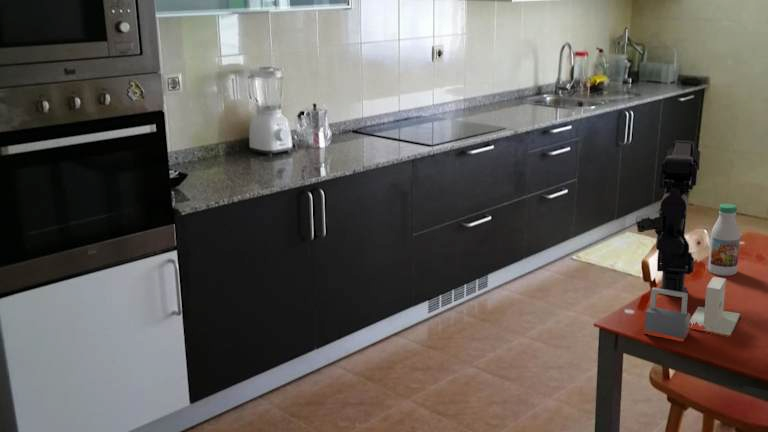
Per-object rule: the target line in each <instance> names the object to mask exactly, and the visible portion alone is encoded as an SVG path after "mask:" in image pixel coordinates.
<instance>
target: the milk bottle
mask: <svg viewBox="0 0 768 432" xmlns="http://www.w3.org/2000/svg"><path fill="white" fill-rule="evenodd" d="M737 207H738V206H736V205H734V204H731V203H721V204H720V205H719V207H718V213H719V215H718V218H717V220H716V222H715V224H714V225H713V227H712V229H711V235H710V241H709V254H708V265H707V267H708V272H709V273H711V274H714V275H718V276H722V277H723V276H724V277H725V276H726V277H727V276H734V275H736V274H737V272H738V263H739V253H740V242H741V241H740V240H741V235H740V233H741V232H740V227H739V226H738V223H737V220H736V215H737V211H738V208H737Z"/></svg>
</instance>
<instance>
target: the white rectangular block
mask: <svg viewBox="0 0 768 432" xmlns="http://www.w3.org/2000/svg"><path fill="white" fill-rule="evenodd" d="M726 285H727V278H723V277H717V276H712V278H711V279H710V281H709V283H708V284H707V286H706V289H705V303H704V308H705V312H704V324H703V325H705V326H710V327H717V326H718V324H719V322H720V320H721V318H722V316H723V311H724V307H725V306H724V305H725V304H724V303H725V294H726Z"/></svg>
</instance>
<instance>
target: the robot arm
mask: <svg viewBox="0 0 768 432" xmlns="http://www.w3.org/2000/svg"><path fill="white" fill-rule="evenodd" d="M694 144H695V142H693V141H691V140H676V141H673V145H672V146H671V147H670V148H669V149H668V150H667V156H666V157H665V160H664V161H662V162H661V169H660V170H661V171H660V179H659V187H658V188H660V189H665V190H664V194H663V197H662V200H661V203H660V207H659V210H658V212H650V213H645V214H639V215H636V216H635V223H636V228H637V232H638V233H644V232H645V231H646V232H647V231H653V230H654V233H655V234H656V239H655V249H656V250H657V251H658V252H657V260H656V261H657V267H656V271H657V272H661V273H662V275H661V276H662V277H661V286H660V287H659V288H660V289H666V290H672V291H678V292H685V293H687V290H688V288H687V287H685V278H686V276H685V275H690V274H693V273H694V263H695V262H694V261H695V258H694V257H693V255H692V252H690V245H689V242H688V240H687V239H686V237H685V233H686V223H687V214H688V212H687V211H688V202H689V199H690V198H689V197H690V192H691V191H690V190H692V191H693V189H694V186H697V178H698V177H697V176H698V171H700V166H701V150H699V149H697V147H695V145H694Z"/></svg>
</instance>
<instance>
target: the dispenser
mask: <svg viewBox="0 0 768 432" xmlns="http://www.w3.org/2000/svg"><path fill="white" fill-rule="evenodd" d="M650 291H651V292H650V302H649V303H650V304H649V305H650V306H649V307H648V308H647V309H646V311H645V320H644V321H645V322H644V331H645V330H646V331H651V332H655V333H660V334H665V335H669V336H673V337H677V338H681V339H684V337H685V335H686V334H687V332H688V331H689V332H690V329H689V323H690V320H691V313H690V312H687V310H688V297H689V296H688V295H689V294H688V292H678V291H672V290H666V289H660V287H652V288H651V290H650ZM657 294H661V295H666V296H672V297H679V298H681V311H676V310H672V309H671V310H670V309H665V308H661V307H656V305H657V304H656V302H657Z"/></svg>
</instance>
